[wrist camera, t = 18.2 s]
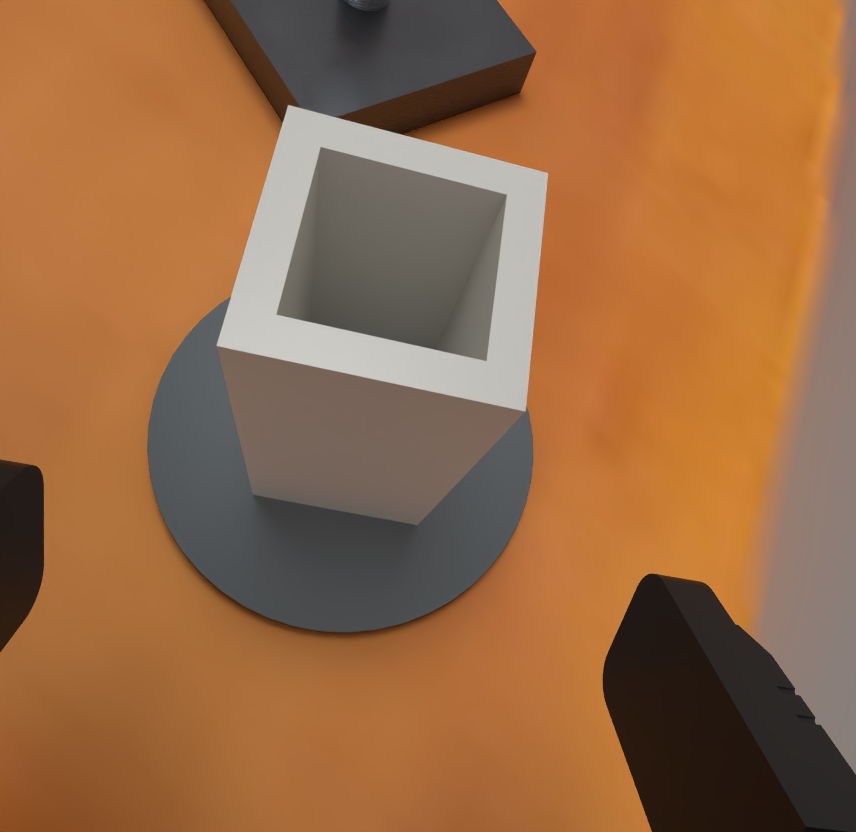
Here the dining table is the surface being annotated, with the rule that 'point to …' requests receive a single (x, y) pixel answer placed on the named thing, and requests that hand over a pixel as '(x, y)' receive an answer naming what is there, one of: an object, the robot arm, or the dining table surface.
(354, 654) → the dining table surface
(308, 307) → the sleeve
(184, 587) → the dining table surface
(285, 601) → the mat
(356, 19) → the post stand
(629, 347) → the dining table surface
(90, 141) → the dining table surface
